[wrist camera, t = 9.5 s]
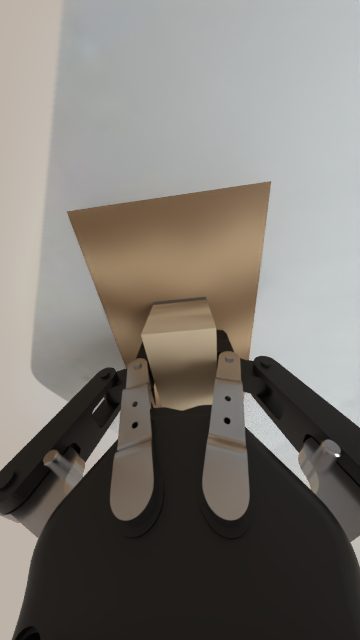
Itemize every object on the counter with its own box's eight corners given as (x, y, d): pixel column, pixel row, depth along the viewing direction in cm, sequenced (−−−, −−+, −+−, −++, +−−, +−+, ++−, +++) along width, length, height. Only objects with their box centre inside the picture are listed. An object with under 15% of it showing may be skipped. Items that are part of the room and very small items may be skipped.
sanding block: (154, 302, 12) (140, 334, 8) (205, 296, 12) (216, 327, 8) (168, 367, 16) (163, 412, 12) (208, 364, 16) (217, 409, 12)
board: (80, 213, 11) (66, 211, 10) (259, 187, 10) (271, 181, 9) (153, 423, 23) (151, 434, 22) (236, 420, 23) (239, 431, 21)
